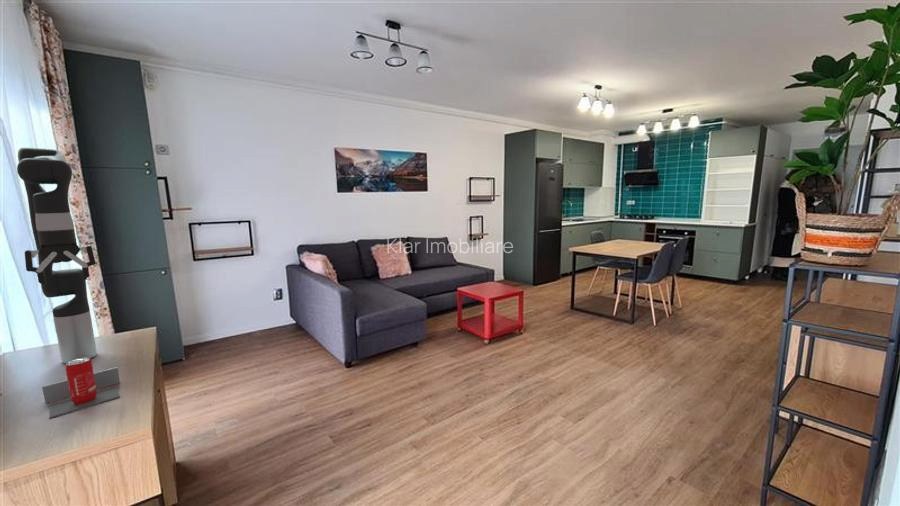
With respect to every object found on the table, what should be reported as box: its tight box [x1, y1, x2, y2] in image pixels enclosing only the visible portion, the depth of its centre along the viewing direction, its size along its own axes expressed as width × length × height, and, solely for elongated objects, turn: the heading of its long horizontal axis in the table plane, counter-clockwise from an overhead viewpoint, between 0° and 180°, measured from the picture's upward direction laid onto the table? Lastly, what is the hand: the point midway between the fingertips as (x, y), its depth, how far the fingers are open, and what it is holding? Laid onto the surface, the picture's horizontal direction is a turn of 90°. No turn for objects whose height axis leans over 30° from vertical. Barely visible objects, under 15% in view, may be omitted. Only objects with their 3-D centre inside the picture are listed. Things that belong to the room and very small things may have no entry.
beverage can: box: [65, 358, 98, 405], centre depth 104 cm, size 5×5×12 cm
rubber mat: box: [48, 385, 121, 419], centre depth 105 cm, size 9×14×1 cm, turn 137°
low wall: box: [41, 366, 121, 404], centre depth 110 cm, size 1×16×5 cm, turn 137°
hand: (65, 281), depth 110 cm, fingers open, 8 cm apart
